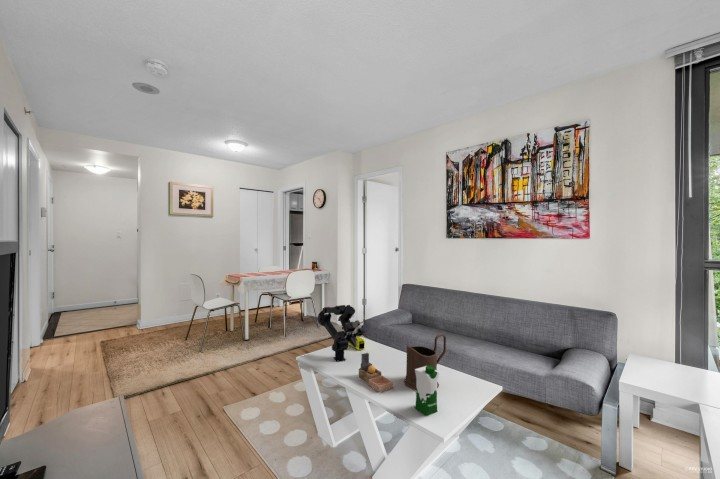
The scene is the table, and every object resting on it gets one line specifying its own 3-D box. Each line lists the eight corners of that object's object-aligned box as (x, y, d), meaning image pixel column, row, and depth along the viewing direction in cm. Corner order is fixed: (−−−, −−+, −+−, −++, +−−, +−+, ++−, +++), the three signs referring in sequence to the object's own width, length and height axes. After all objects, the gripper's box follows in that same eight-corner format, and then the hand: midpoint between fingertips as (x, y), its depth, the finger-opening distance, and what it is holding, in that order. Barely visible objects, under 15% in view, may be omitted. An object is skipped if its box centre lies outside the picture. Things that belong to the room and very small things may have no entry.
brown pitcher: (397, 378, 173) (398, 333, 173) (435, 372, 182) (435, 329, 182) (414, 394, 156) (415, 343, 156) (455, 386, 164) (455, 339, 164)
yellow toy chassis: (346, 344, 228) (346, 332, 228) (353, 343, 231) (353, 331, 231) (358, 351, 214) (358, 339, 214) (365, 349, 217) (365, 337, 217)
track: (358, 377, 173) (358, 368, 173) (370, 374, 178) (370, 365, 178) (369, 384, 165) (369, 375, 165) (381, 381, 170) (381, 371, 170)
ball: (366, 372, 171) (366, 364, 171) (373, 371, 173) (373, 363, 173) (369, 375, 168) (369, 367, 168) (376, 374, 169) (376, 366, 169)
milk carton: (426, 417, 135) (426, 371, 135) (411, 408, 143) (412, 364, 143) (440, 412, 140) (441, 367, 140) (426, 402, 148) (426, 360, 148)
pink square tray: (368, 385, 165) (368, 379, 165) (382, 380, 170) (382, 375, 170) (379, 392, 157) (379, 386, 157) (393, 387, 162) (393, 382, 162)
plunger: (360, 368, 175) (360, 354, 175) (367, 367, 177) (368, 352, 177) (364, 371, 171) (364, 356, 171) (372, 369, 174) (372, 354, 174)
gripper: (337, 318, 183) (347, 342, 174) (364, 314, 193) (374, 337, 184) (330, 328, 189) (339, 352, 180) (356, 323, 200) (366, 346, 191)
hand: (355, 346), depth 184 cm, fingers closed
